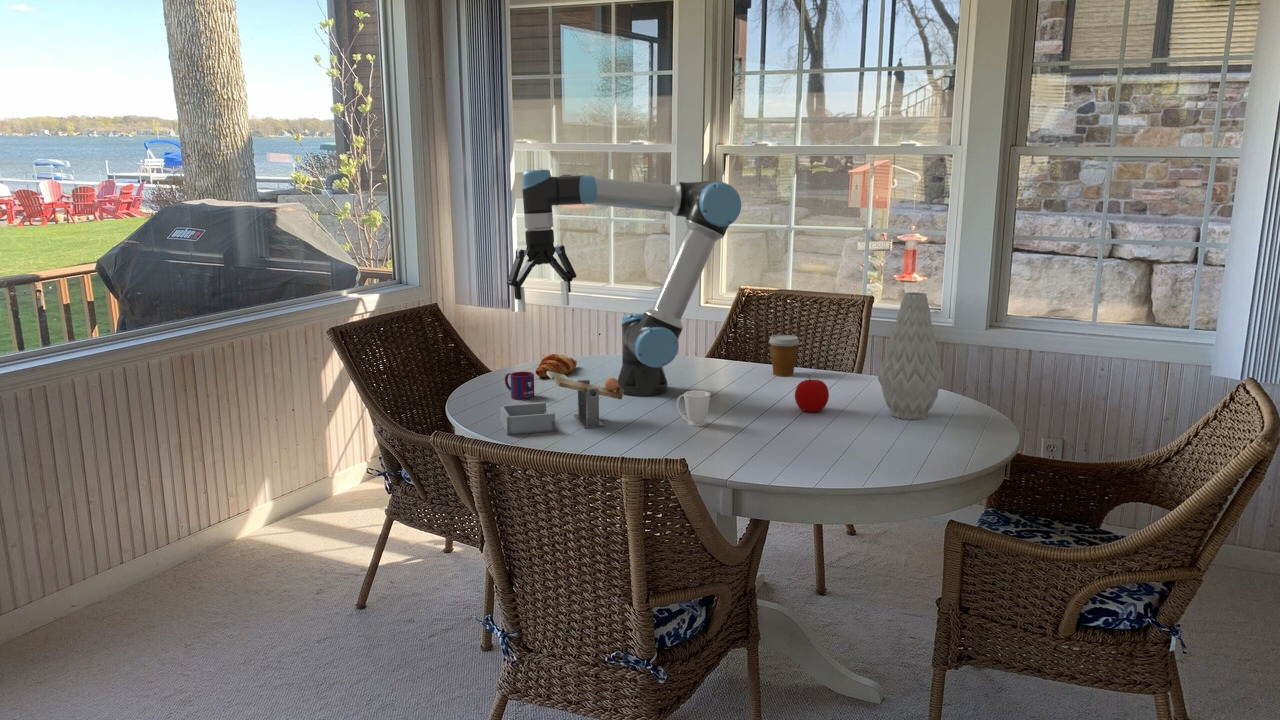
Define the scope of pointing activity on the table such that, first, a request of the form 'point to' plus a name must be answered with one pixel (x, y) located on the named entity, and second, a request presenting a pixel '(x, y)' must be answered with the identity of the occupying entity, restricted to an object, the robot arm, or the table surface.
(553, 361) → the croissant
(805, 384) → the fruit
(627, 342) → the robot arm
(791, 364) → the disposable coffee cup
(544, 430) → the tray
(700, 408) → the cup
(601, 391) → the lever
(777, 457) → the table surface
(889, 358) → the vase
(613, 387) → the ball
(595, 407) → the fulcrum
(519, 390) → the cup
